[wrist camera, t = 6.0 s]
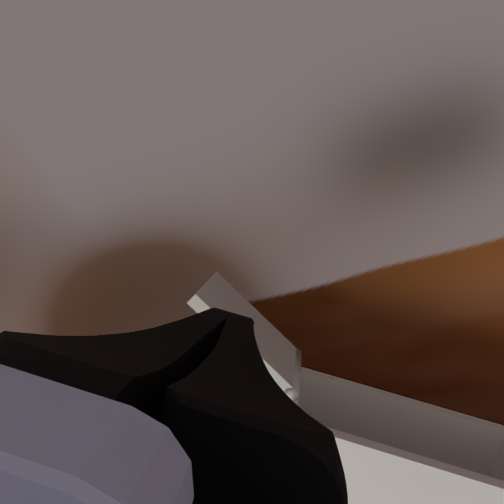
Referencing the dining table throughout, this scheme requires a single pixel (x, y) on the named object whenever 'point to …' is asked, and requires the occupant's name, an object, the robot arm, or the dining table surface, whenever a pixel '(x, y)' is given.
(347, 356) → the dining table surface
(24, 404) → the robot arm
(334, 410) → the carton
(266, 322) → the flap
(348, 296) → the dining table surface
